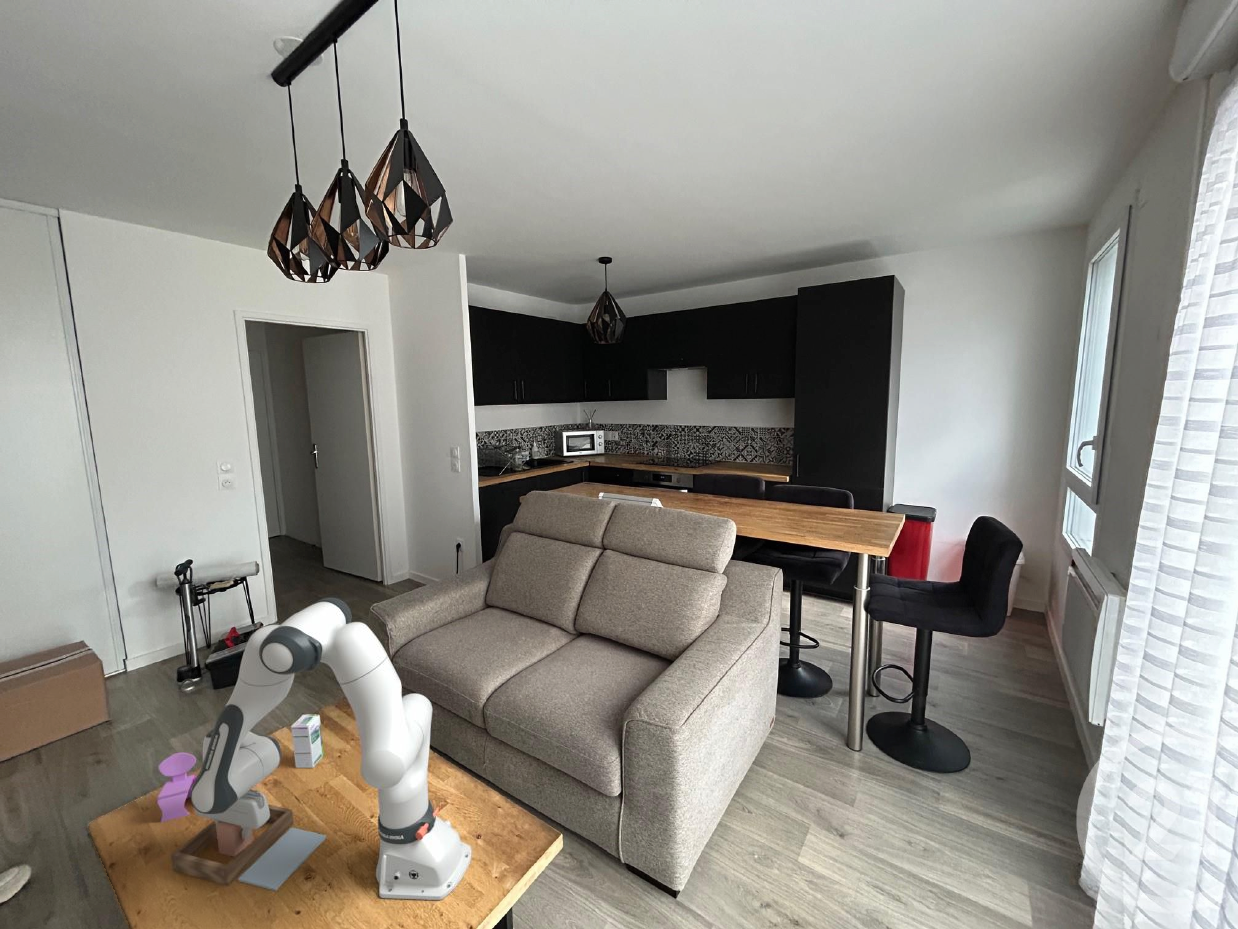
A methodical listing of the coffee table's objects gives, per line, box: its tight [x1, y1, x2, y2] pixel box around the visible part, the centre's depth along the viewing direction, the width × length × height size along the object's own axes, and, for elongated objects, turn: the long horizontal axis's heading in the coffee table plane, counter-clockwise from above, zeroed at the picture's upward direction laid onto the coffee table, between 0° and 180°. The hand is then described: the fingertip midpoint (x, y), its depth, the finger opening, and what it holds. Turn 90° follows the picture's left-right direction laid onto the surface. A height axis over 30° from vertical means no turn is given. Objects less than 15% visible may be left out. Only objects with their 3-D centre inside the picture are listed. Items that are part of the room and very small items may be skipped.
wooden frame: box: [170, 803, 294, 887], centre depth 130 cm, size 17×18×4 cm
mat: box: [237, 827, 327, 892], centre depth 127 cm, size 11×15×1 cm
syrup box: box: [290, 713, 325, 769], centre depth 160 cm, size 6×6×14 cm
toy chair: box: [157, 752, 197, 823], centre depth 142 cm, size 8×9×15 cm
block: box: [216, 821, 254, 858], centre depth 130 cm, size 5×5×8 cm
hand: (235, 834), depth 130 cm, fingers closed on block, 5 cm apart
